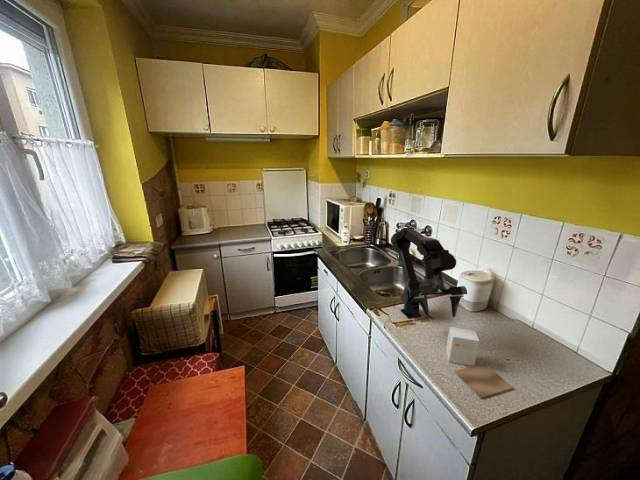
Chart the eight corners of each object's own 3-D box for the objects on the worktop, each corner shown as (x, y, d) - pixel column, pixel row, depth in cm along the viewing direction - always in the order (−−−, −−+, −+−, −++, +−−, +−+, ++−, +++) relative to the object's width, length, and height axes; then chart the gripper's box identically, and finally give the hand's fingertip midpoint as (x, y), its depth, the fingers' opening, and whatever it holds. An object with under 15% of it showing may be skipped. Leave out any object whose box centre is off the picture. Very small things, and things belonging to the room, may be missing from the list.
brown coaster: (454, 372, 83) (455, 370, 83) (484, 364, 86) (484, 362, 86) (481, 399, 74) (481, 397, 74) (512, 388, 77) (513, 387, 77)
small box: (469, 355, 90) (475, 330, 87) (474, 367, 85) (480, 340, 82) (445, 350, 92) (449, 326, 89) (448, 362, 87) (453, 336, 84)
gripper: (399, 275, 96) (405, 319, 92) (451, 269, 83) (460, 319, 79) (413, 275, 103) (419, 316, 100) (463, 270, 90) (472, 316, 87)
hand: (440, 316), depth 91 cm, fingers open, 9 cm apart
